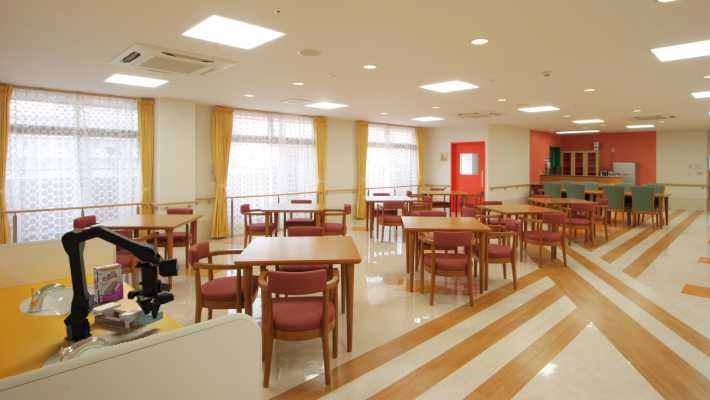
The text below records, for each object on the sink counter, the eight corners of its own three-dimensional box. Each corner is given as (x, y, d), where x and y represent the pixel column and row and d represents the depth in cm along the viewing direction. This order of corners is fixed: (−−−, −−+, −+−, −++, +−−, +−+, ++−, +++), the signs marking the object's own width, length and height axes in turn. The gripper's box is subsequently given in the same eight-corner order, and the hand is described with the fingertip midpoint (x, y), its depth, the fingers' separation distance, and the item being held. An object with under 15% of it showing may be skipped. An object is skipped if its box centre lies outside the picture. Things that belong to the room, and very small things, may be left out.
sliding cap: (100, 321, 166) (100, 310, 166) (91, 319, 169) (90, 309, 168) (121, 314, 175) (120, 303, 174) (112, 312, 177) (111, 302, 176)
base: (129, 330, 160) (128, 315, 160) (94, 323, 168) (93, 308, 168) (149, 322, 168) (148, 308, 168) (115, 315, 176) (114, 301, 176)
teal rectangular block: (145, 325, 157) (145, 317, 157) (140, 324, 158) (139, 316, 158) (163, 318, 164) (162, 311, 164) (157, 317, 165) (157, 310, 165)
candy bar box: (98, 304, 192) (96, 269, 190) (94, 302, 195) (92, 267, 193) (124, 298, 200) (122, 264, 199) (120, 296, 203) (118, 262, 202)
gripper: (184, 275, 163) (186, 314, 165) (150, 270, 171) (152, 308, 172) (160, 282, 153) (162, 324, 154) (125, 277, 161) (127, 317, 162)
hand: (151, 317), depth 161 cm, fingers closed on teal rectangular block, 3 cm apart
